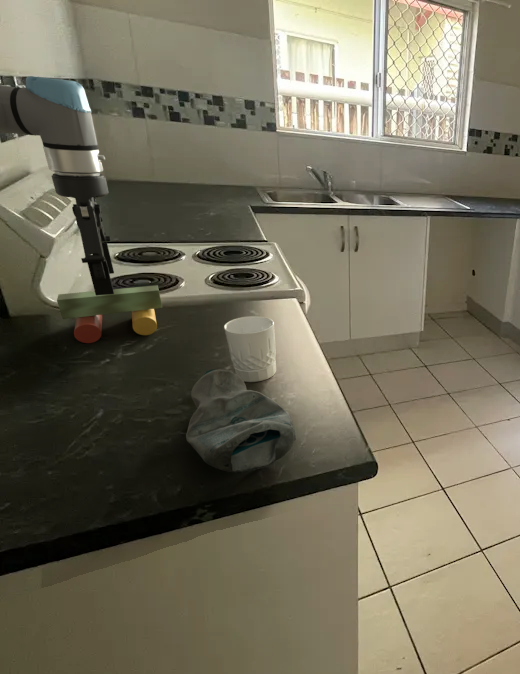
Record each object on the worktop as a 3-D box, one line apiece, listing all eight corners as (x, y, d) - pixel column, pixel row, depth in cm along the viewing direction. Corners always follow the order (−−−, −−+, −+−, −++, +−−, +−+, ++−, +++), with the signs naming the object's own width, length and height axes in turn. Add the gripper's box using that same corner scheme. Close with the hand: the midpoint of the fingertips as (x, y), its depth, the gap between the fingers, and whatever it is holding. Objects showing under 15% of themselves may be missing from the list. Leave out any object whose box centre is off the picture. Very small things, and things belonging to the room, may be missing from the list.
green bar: (62, 319, 92) (56, 300, 91) (64, 313, 95) (58, 294, 93) (162, 307, 101) (158, 290, 100) (161, 302, 104) (157, 285, 102)
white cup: (283, 378, 87) (277, 329, 83) (235, 388, 83) (226, 336, 79) (275, 360, 93) (269, 313, 89) (229, 368, 89) (221, 319, 85)
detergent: (309, 457, 68) (261, 379, 85) (301, 418, 65) (252, 345, 82) (206, 500, 61) (175, 405, 78) (191, 458, 57) (162, 368, 74)
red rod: (103, 341, 94) (98, 322, 92) (77, 344, 92) (71, 326, 90) (104, 319, 102) (99, 302, 101) (80, 322, 100) (75, 305, 98)
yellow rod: (158, 333, 99) (154, 315, 97) (135, 336, 97) (130, 318, 95) (155, 313, 108) (151, 297, 106) (133, 316, 105) (129, 299, 104)
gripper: (103, 184, 80) (130, 301, 89) (105, 165, 98) (127, 264, 106) (43, 183, 76) (77, 306, 84) (56, 163, 93) (83, 267, 102)
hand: (105, 283), depth 95 cm, fingers open, 13 cm apart
